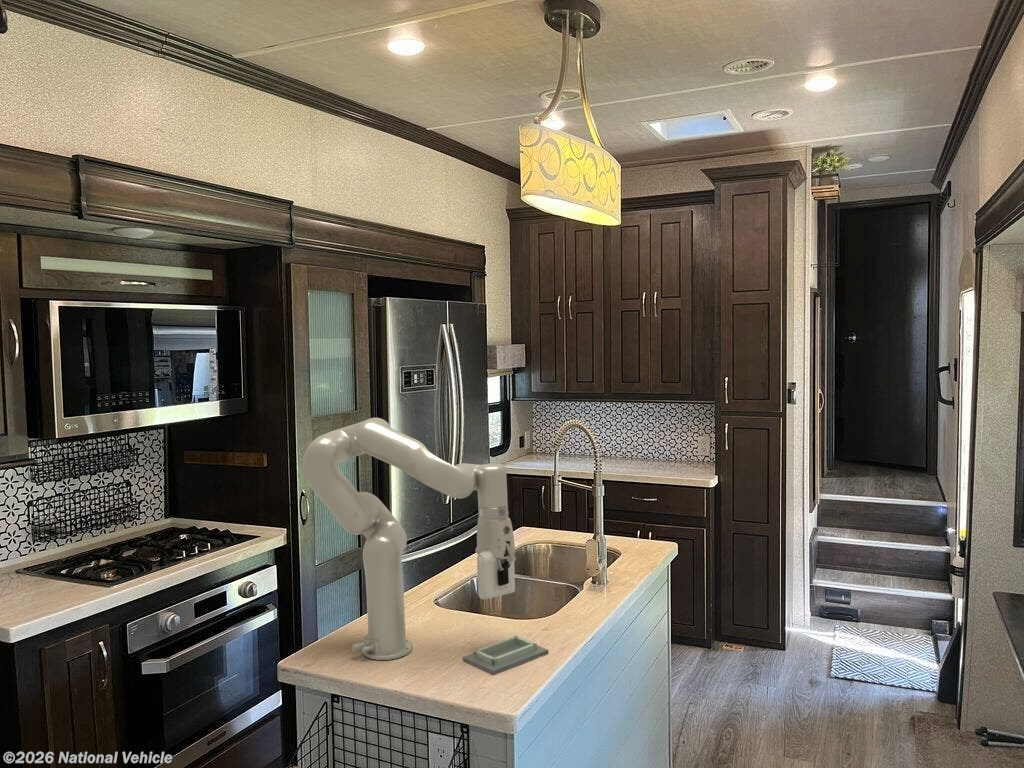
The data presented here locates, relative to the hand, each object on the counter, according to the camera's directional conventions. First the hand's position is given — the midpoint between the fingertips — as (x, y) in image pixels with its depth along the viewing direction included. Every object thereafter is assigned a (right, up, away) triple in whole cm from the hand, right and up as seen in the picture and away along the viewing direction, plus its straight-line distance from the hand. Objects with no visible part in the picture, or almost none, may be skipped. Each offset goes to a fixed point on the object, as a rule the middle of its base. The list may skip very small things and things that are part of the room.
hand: (496, 581), depth 201 cm
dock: (+2, -18, -5) cm, 19 cm away
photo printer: (0, -4, 0) cm, 4 cm away
